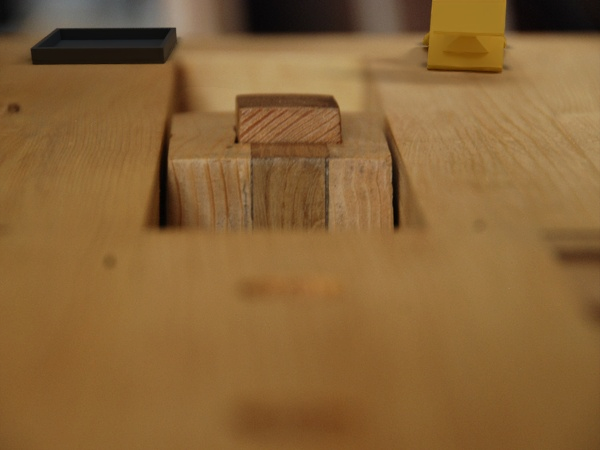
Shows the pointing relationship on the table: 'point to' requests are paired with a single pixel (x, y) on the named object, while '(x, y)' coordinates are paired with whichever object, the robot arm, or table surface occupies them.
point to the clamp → (466, 35)
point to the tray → (105, 46)
